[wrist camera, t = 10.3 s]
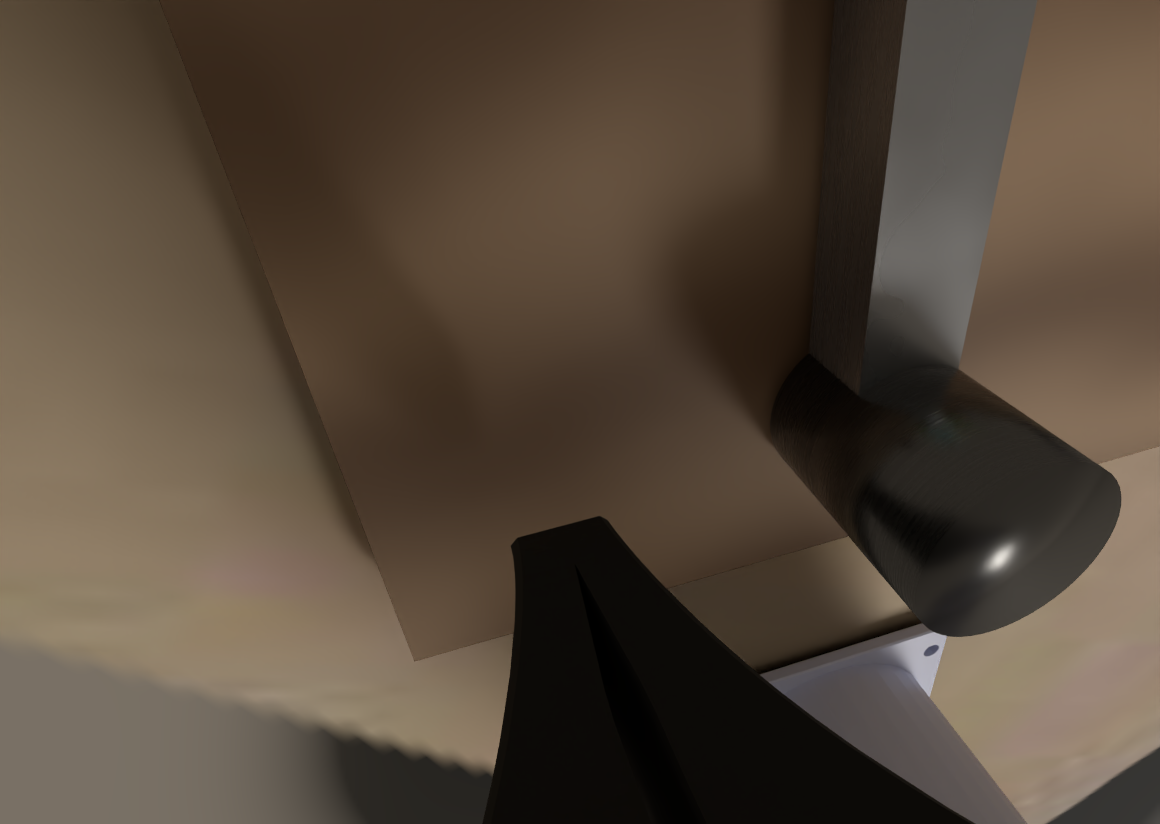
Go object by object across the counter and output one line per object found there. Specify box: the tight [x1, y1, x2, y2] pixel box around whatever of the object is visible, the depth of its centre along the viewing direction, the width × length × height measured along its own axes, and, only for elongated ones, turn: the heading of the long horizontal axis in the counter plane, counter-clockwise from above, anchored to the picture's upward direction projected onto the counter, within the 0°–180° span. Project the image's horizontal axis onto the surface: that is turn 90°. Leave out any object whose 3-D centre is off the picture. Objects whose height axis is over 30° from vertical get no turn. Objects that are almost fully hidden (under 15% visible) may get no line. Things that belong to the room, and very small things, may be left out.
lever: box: [770, 0, 1121, 637], centre depth 8 cm, size 17×4×4 cm, turn 7°
